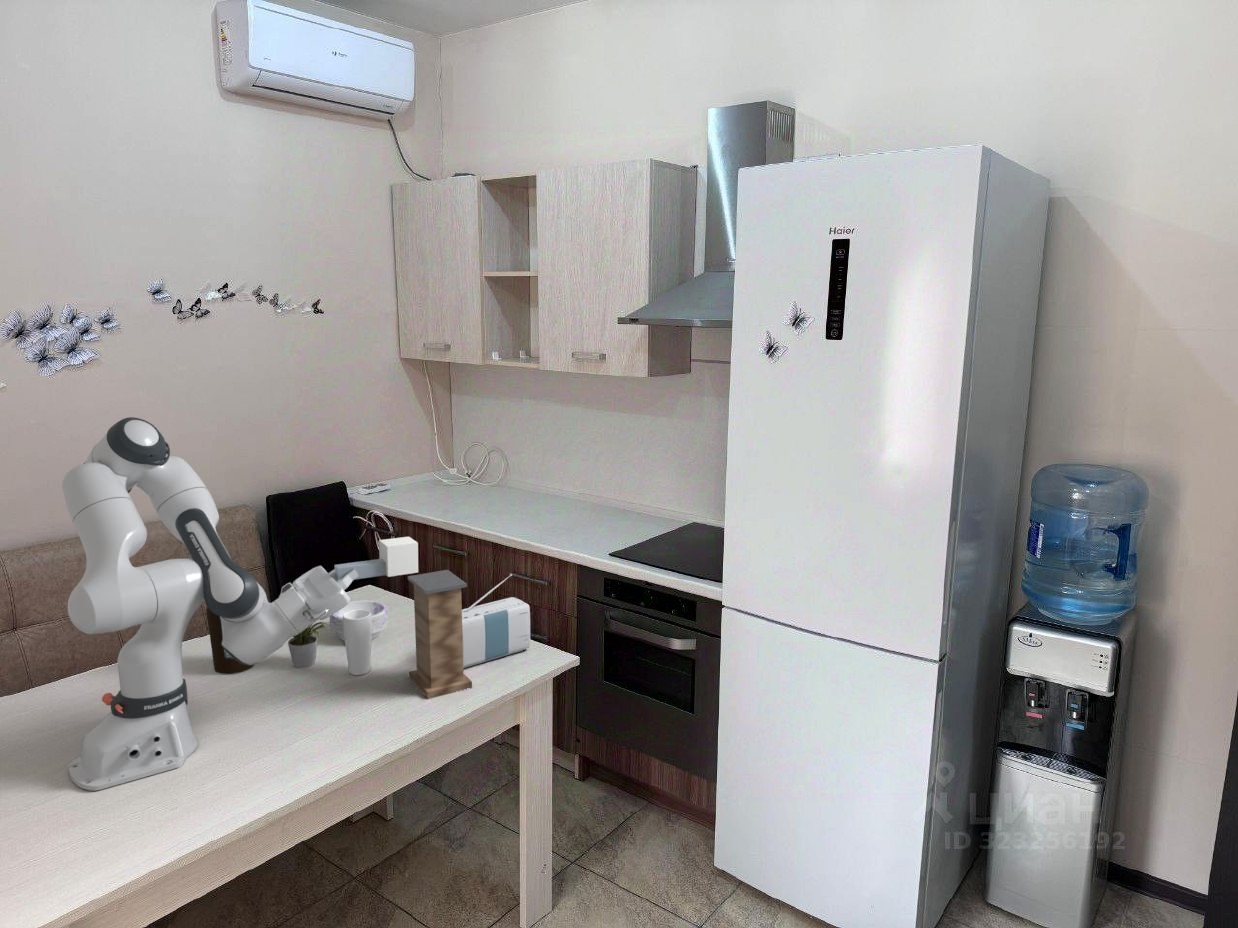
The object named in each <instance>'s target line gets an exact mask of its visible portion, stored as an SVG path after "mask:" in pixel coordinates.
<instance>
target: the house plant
mask: <svg viewBox="0 0 1238 928" xmlns="http://www.w3.org/2000/svg"><path fill="white" fill-rule="evenodd" d="M329 624H330V621H328V622H327V621H325V622H323V621H318V622H316V623H313V624H312V625H310V626H309V627H308V628H306V629H305V630H304V631H302V632H301V633H299V634H298V635H296V636H293V637H291V638H290V639H288V640H287V645H288V650H289V652H290V653H289V654H290V658H291V661H292V665H293V667H294V668H297V669H305V668H309V667H312V666H313V665H314V664H315V663H316V656H317V648H318V647H317V646H318V642H319V641H318V638H320V637H319V636H320V635H319V632H318V630H320V629H324V628H328V626H327V625H329ZM314 634H315V635H316V636H315V635H314Z"/></svg>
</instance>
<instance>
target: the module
mask: <svg viewBox="0 0 1238 928" xmlns="http://www.w3.org/2000/svg"><path fill="white" fill-rule="evenodd" d="M378 543H379V544H378V546H379V548H378V549H379V550H378V551H379V553H378V555H379V558H378V559H377V558H376V559H370V560H364V561H363V560H361V561H354V562H347V563H339V564H334V570H335V579H336V580H337V581H338V580H339V579H342V578H343V577H344V576H345V575H346V574H347V572H348V571H350V570H351V569H354V570H356V572H357V573H358V577H357V578H355V579H354V580H361V579H367V578H368V579H369V578H375V577H382V576H387V577H388V578H390V577H396V576H403V575H410V574H416V573H419V542H418V541H416V540H414V539H413V538H412V537H410V536H403V537H396V538H395V537H394V538H386V539H385V538H384V539H379V540H378ZM354 580H353V581H354ZM337 581H336V582H337Z"/></svg>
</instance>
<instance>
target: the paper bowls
mask: <svg viewBox="0 0 1238 928" xmlns="http://www.w3.org/2000/svg"><path fill="white" fill-rule="evenodd" d="M352 610H367V611H370V612H371V619H372V640H373V639H375V638H377V637H378V636H379V635H380V633H381V631H383V630H385V629H386V627H388V623H389V622H388V621H389V617H388V615H389V609H388V606H387V605H386V604H384V603H382V602H380V601H376V600H369V599H368V600H367V599H366V600H365V599H364V600H363V599H360V600H352V601H351V600H350V602H349V603H348V604H347V605H346V606H345V607H344V608H342V609H341V610H339V611H338V612H336V613H334V614H333V615H331V616H330V617H329V622H330V623H329V628H330V629H329V630H330V631H331V632H332V633H334V634H336V635H338V636H339V638H340V639H341V640H343V641H344V642H345V640H344V633H343V615H344V614H345V613H346V612H349V611H352Z"/></svg>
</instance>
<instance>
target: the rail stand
mask: <svg viewBox="0 0 1238 928" xmlns="http://www.w3.org/2000/svg"><path fill="white" fill-rule="evenodd" d="M407 581H409V582H410V583H411V584H412V585H413V605H414V608H413V609H414V631H415V633H414V634H415V636H414V637H415V655H416V658H415V659H416V669H415V670H411V671H410V670H409V671H408V679H409V680H410V681H411V682H412V683H413V684H414V685H415V686H416V688H417V689H418V690H419V691H420V693H422V694H423V695H424V697H425V698H426V699H427V700H429V699H432V698H433V699H434V698H438V697H441V696H445V695H449V694H452V693H457V692H456V691H458V692H461V691H460V690H462V691H465V690H464V689H466V690H468V689H467V688H470V687H472V688H473V680H471V679H470V678H469V677H468V676H467V675H466V674H465V673H464V669H463V637H462V608H463V606H462V602H463V601H462V589H464V588H467V587H468V584H467V582H465V581H464V580H462V579H461V578H460V577H458V576H457V575H456V574H454V573H453V572H452V571H450V570H449V569H444V570H439V571H438V570H437V571H433V572H427V573H426V572H425V573H421V574H415V575H409V576H407ZM470 689H471V688H470Z"/></svg>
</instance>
